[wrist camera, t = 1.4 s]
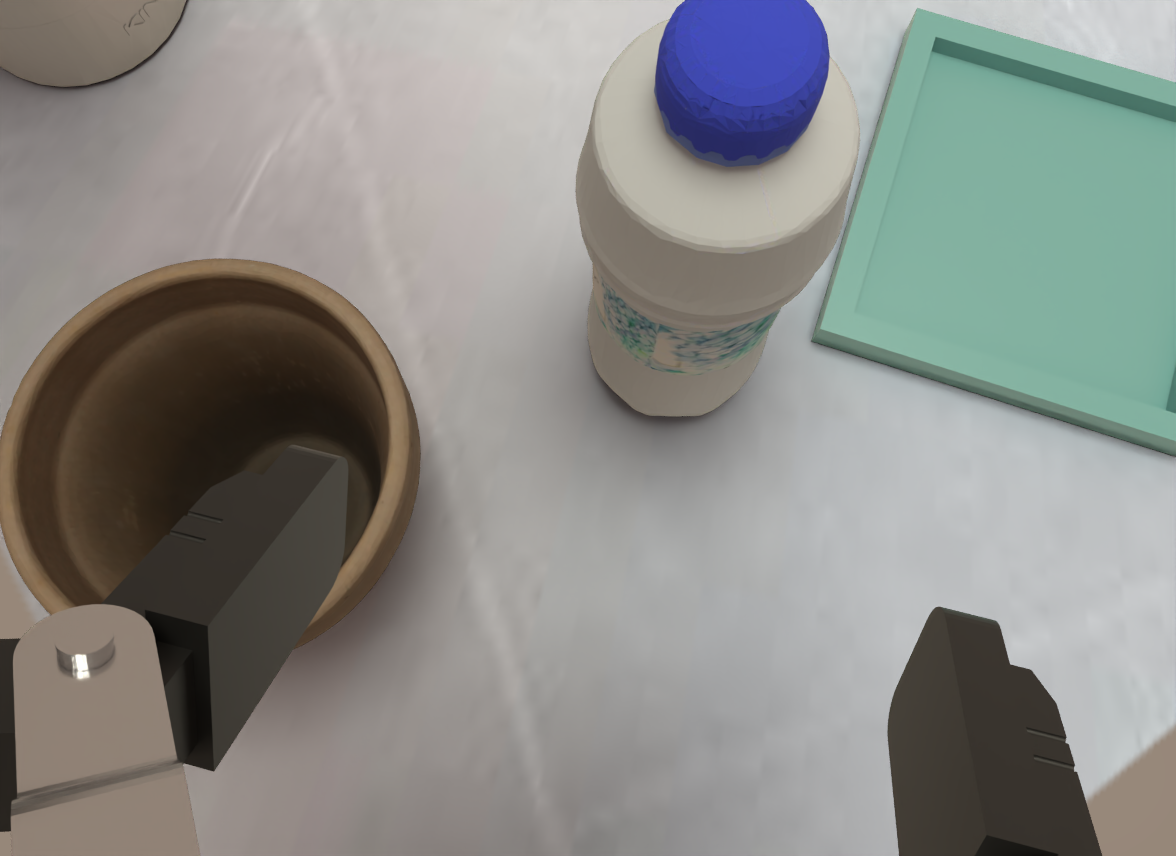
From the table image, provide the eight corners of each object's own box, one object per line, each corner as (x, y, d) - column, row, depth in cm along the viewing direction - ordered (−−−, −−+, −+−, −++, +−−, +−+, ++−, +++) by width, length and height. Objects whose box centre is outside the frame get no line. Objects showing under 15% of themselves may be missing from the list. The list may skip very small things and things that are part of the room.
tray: (811, 341, 38) (820, 328, 37) (905, 31, 41) (917, 8, 39) (1175, 456, 37) (1199, 448, 36) (1246, 130, 40) (1271, 110, 38)
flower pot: (200, 328, 38) (64, 217, 29) (488, 385, 38) (451, 293, 28) (109, 628, 36) (-74, 619, 26) (416, 694, 35) (347, 711, 26)
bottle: (623, 240, 39) (651, -170, 20) (784, 304, 38) (979, -53, 19) (554, 393, 38) (511, 118, 18) (720, 462, 37) (859, 253, 18)
